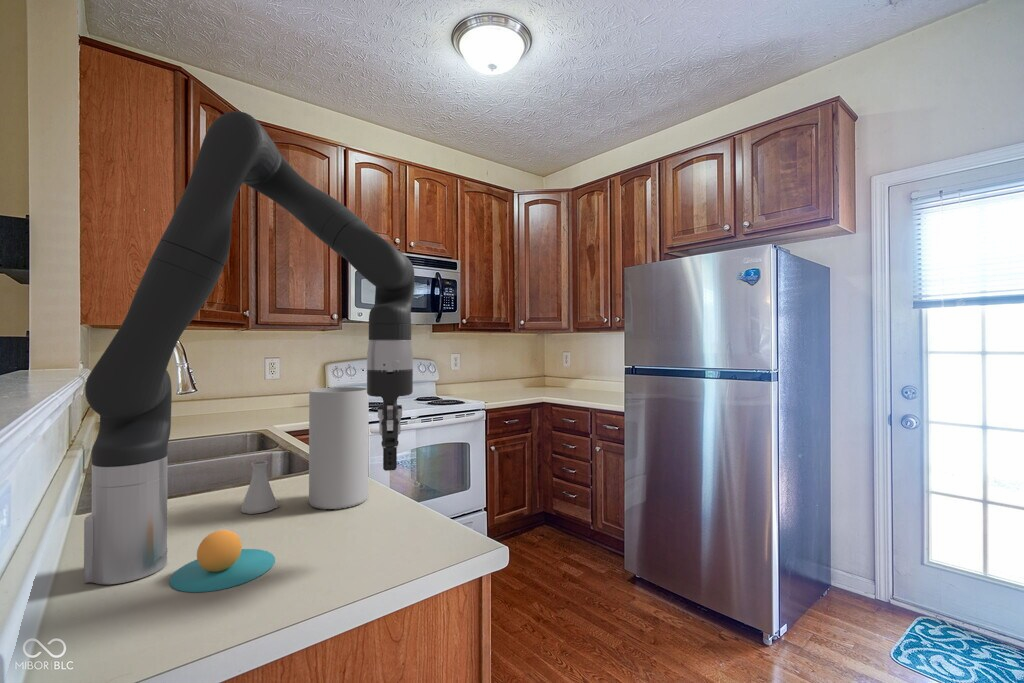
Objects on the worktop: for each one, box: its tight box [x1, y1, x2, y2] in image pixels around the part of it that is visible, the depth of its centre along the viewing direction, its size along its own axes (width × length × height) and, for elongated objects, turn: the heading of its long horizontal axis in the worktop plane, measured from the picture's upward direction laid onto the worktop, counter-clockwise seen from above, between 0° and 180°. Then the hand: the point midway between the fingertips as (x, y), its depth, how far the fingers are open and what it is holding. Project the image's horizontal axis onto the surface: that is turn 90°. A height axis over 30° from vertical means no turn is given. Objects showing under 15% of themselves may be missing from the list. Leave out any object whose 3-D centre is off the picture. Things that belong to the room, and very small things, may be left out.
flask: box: [240, 460, 279, 515], centre depth 103 cm, size 7×7×10 cm
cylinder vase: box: [308, 386, 370, 510], centre depth 108 cm, size 12×12×25 cm
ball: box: [196, 529, 243, 572], centre depth 75 cm, size 6×6×6 cm
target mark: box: [169, 548, 276, 593], centre depth 75 cm, size 14×14×1 cm
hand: (389, 469), depth 81 cm, fingers closed
